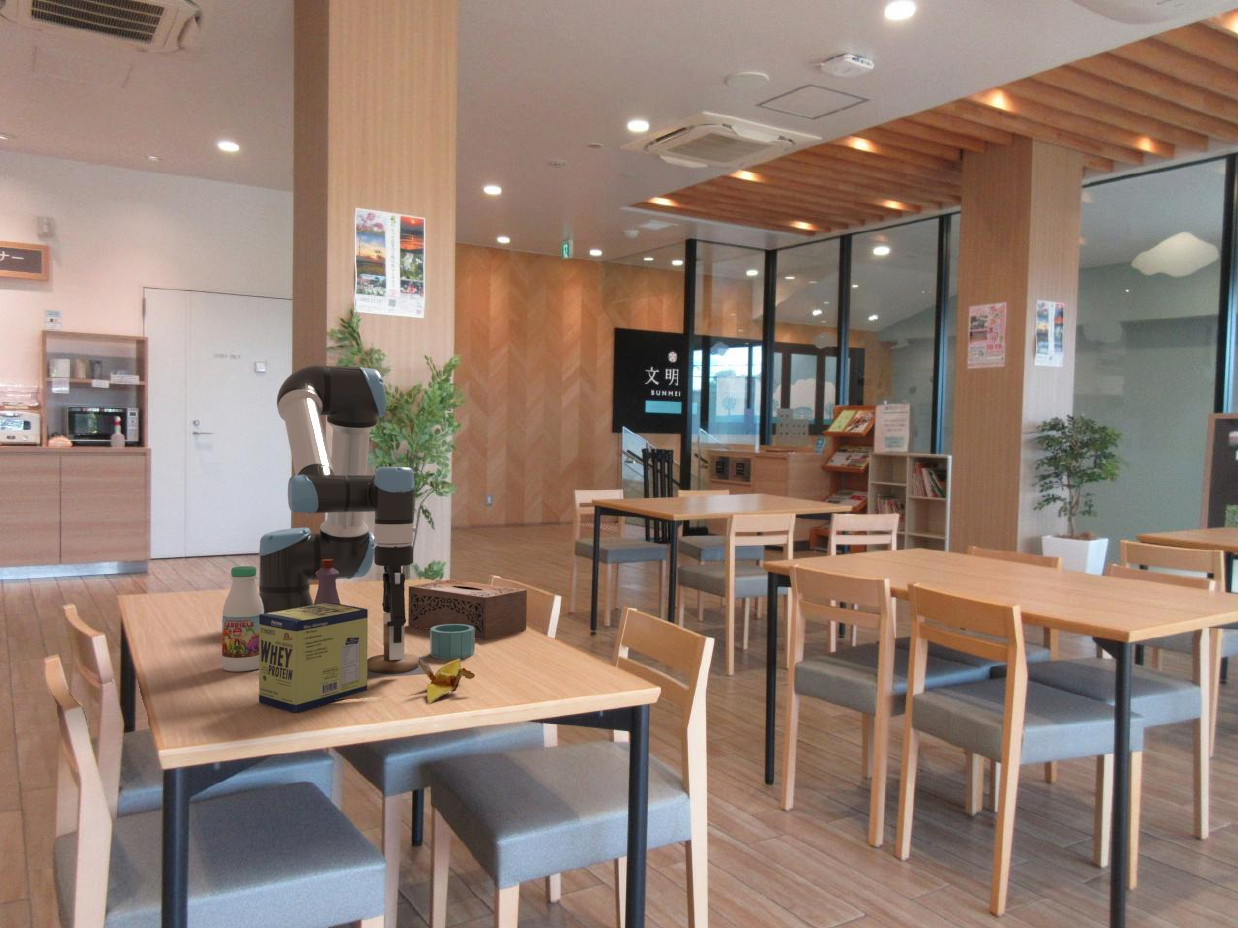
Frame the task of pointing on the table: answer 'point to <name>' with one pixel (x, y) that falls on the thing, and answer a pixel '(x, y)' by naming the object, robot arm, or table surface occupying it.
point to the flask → (327, 583)
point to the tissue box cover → (468, 607)
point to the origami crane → (444, 679)
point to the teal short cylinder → (452, 641)
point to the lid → (391, 666)
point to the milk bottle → (241, 622)
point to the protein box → (312, 655)
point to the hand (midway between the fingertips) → (393, 651)
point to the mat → (412, 672)
